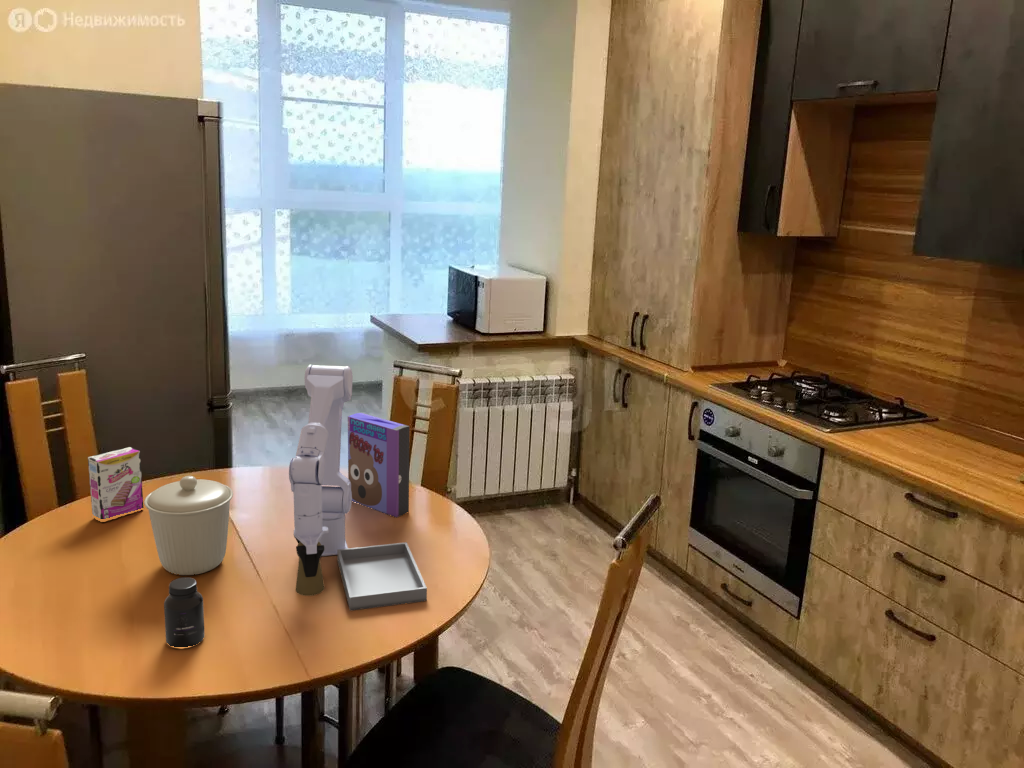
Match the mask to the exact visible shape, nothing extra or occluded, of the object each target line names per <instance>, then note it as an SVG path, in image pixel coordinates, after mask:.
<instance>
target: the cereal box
mask: <svg viewBox="0 0 1024 768" xmlns="http://www.w3.org/2000/svg"><path fill="white" fill-rule="evenodd" d="M347 456H348V457H347V465H348V466H347V467H348V470H347V473H348V477H347V478H348V479H349V480H350V483H351V491H352V501H353V502H352V503H354V502H356V503H355V504H357V503H359V504H358V505H360V504H361V506H362V505H363V506H362V507H365V506H366V508H368V507H369V508H368V509H371V508H372V509H371V510H374V511H377V512H379V513H382V514H384V513H385V515H387V516H390V515H391V516H390V517H393V516H394V517H393V518H395V517H396V519H397V518H399V517H402V516H403V514H404V515H406V514H407V512H408V513H409V511H410V510H409V509H410V507H409V505H410V503H409V502H410V425H407V424H403V423H399V422H395V421H392V420H389V419H384V418H381V417H377V416H373V415H370V414H367V413H363V412H357V413H353V414H351V415H348V416H347ZM405 513H406V514H405Z"/></svg>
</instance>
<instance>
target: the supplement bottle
mask: <svg viewBox="0 0 1024 768" xmlns="http://www.w3.org/2000/svg"><path fill="white" fill-rule="evenodd" d="M197 583H198V582H197V580H196V579H195V578H192V577H190V576H189V577H188V576H187V577H186V576H185V577H183V576H182V577H179V578H176V579H173V580H172V581H170V582H169V584H168V596H166V598H165V599H164V602H163V609H164V610H163V611H164V614H163V615H164V629H165V641H166V644H167V643H168V644H169V645H170V646H174V647H188V646H193V645H196V644H198V643H199V642H201V641H202V642H203V640H204V639H205V634H206V633H205V615H204V614H205V612H204V611H205V610H204V609H205V607H204V597H203V595H202V593H200V592H199V591H198V584H197ZM203 638H204V639H203ZM202 642H201V643H202ZM168 644H167V645H168ZM199 644H200V643H199ZM199 644H198V645H199ZM169 645H168V646H169ZM170 646H169V647H170ZM196 646H197V645H196Z"/></svg>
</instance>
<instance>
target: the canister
mask: <svg viewBox="0 0 1024 768" xmlns="http://www.w3.org/2000/svg"><path fill="white" fill-rule="evenodd" d="M233 496H234V491H233V490H232V488H231V487H230V486H228V485H227V484H223V483H222V482H219V481H215V480H210V479H203V478H202V479H201V478H200V479H197V478H196V477H195V476H193V475H186V476H183V477H182V478H181V479H180V480H178V481H173V482H170V483H166V484H165V485H164V484H163V485H162V486H160V487H158V488H157V489H155V490H153V491H151V492H150V493H148V494H147V495H146V497H144V499H143V506H145V508H146V509H147V510H148V515H149V519H150V524H151V529H152V533H153V539H154V543H155V546H156V551H157V555H158V560H159V562H160V563H161V565H162V567H163V568H164V569H165V571H167V572H169V573H170V572H171V573H170V574H173V573H174V575H177V574H179V576H194V574H195V575H199V574H203V573H207V572H209V571H211V570H214V569H215V568H217V567H218V566H220V565H221V563H222V561H224V559H225V556H226V551H227V545H228V544H227V542H228V534H229V522H230V521H229V520H230V519H229V518H230V506H231V505H230V504H231V500H232V498H233Z"/></svg>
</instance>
